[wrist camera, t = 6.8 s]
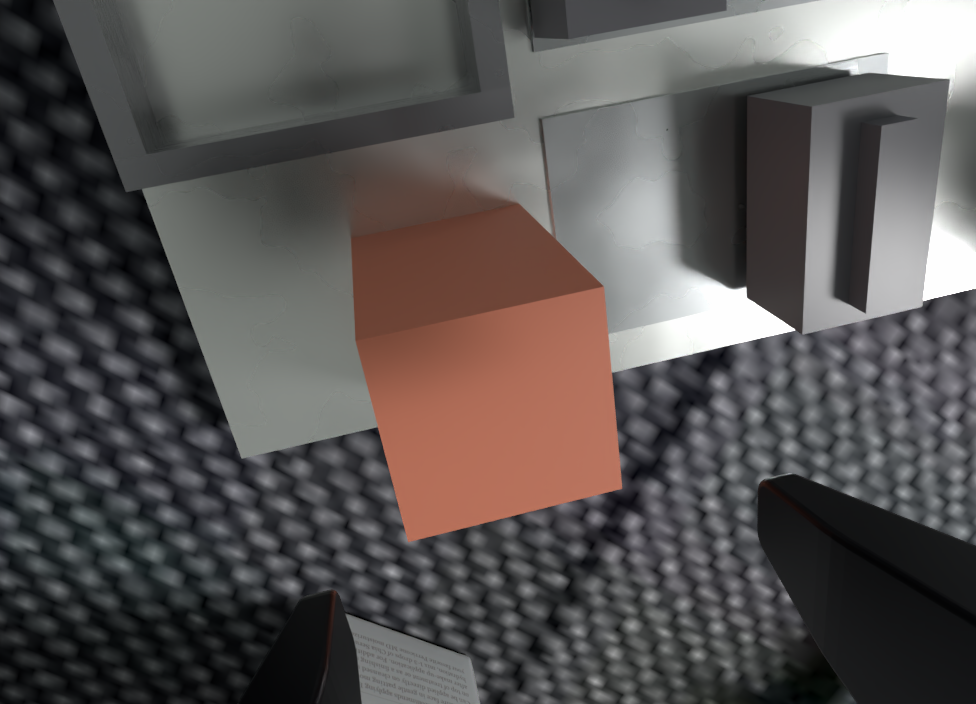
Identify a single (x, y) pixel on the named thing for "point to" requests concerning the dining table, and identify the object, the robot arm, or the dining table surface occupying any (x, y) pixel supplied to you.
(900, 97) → the toggle
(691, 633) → the dining table surface
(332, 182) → the panel
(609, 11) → the toggle
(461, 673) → the skincare box
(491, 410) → the orange-red rectangular block
